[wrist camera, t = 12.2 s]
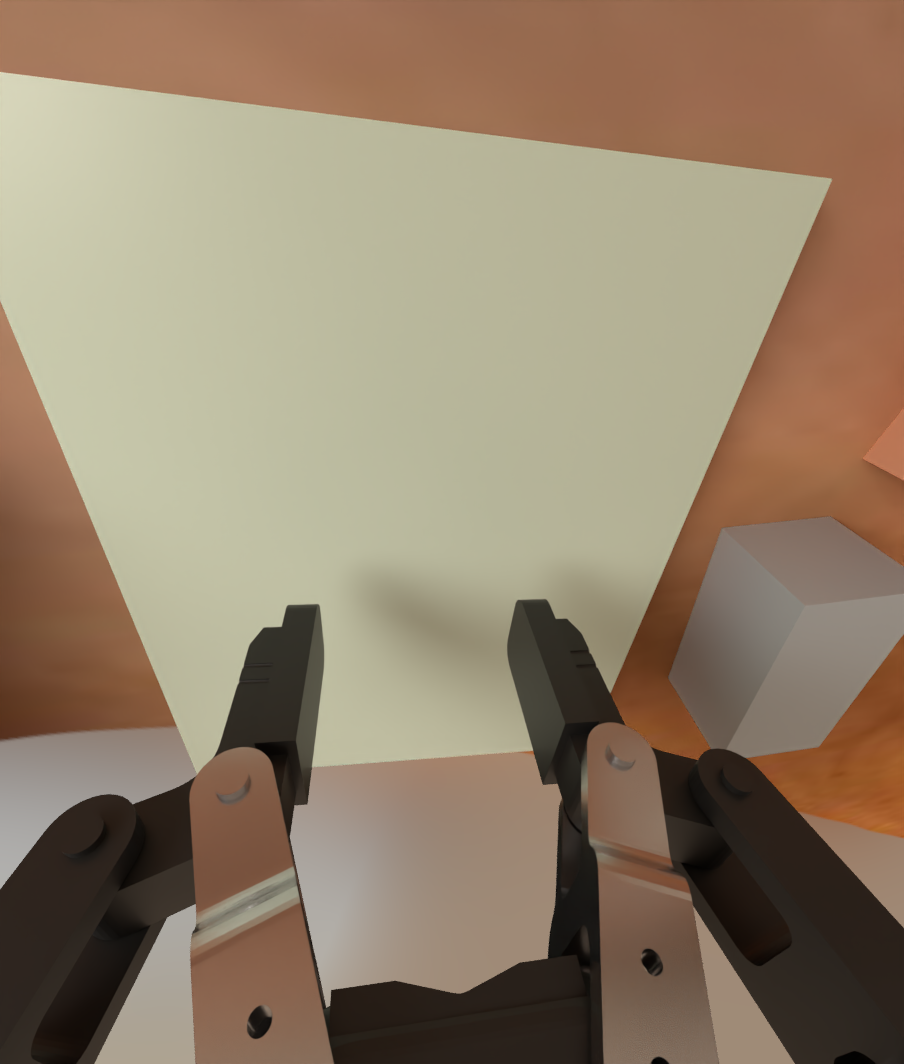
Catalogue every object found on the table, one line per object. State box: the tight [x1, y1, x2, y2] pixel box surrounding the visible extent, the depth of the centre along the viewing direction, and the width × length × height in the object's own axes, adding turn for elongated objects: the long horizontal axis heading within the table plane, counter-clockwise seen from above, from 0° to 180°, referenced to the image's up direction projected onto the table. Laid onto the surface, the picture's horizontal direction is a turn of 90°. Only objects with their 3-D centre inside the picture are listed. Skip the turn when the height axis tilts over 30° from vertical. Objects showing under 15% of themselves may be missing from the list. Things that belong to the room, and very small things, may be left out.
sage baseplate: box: [0, 72, 832, 774], centre depth 14 cm, size 20×16×1 cm
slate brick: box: [668, 516, 904, 758], centre depth 17 cm, size 8×4×4 cm, turn 2°
